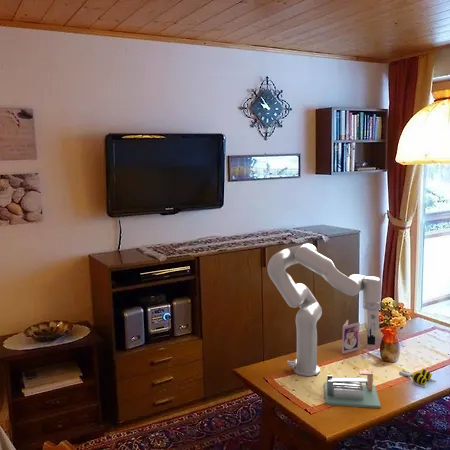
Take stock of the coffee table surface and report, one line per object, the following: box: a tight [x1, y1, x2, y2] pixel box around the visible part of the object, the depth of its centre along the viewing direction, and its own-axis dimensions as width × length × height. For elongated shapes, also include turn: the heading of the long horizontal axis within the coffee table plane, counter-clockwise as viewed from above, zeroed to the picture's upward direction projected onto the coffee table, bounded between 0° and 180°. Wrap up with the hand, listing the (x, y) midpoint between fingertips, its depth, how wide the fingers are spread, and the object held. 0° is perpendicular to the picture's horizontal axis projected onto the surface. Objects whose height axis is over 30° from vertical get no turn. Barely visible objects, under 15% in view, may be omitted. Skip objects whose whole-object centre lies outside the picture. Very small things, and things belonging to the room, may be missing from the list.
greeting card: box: [341, 319, 361, 354], centre depth 263 cm, size 11×7×15 cm, turn 118°
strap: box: [329, 377, 368, 386], centre depth 215 cm, size 16×3×2 cm, turn 81°
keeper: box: [358, 369, 374, 390], centre depth 220 cm, size 6×4×7 cm
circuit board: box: [323, 381, 381, 409], centre depth 216 cm, size 22×18×1 cm
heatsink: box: [326, 374, 363, 400], centre depth 216 cm, size 14×10×6 cm
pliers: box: [398, 369, 437, 389], centre depth 231 cm, size 10×2×15 cm
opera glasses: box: [412, 367, 433, 386], centre depth 228 cm, size 10×5×5 cm, turn 133°
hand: (371, 343), depth 225 cm, fingers closed
